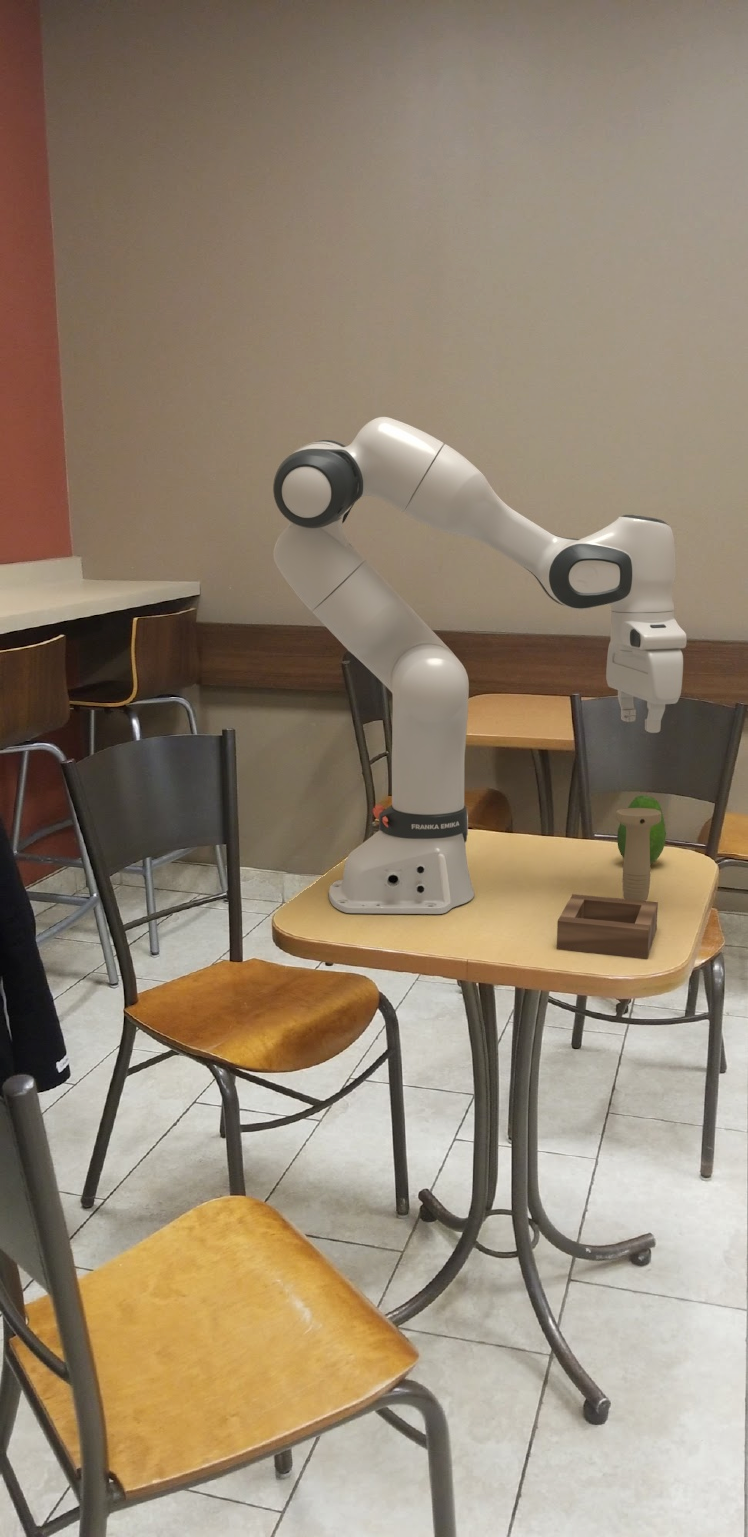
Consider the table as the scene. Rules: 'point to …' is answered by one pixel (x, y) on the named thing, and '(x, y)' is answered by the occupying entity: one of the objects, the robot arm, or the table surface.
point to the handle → (637, 850)
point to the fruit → (655, 831)
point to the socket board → (607, 926)
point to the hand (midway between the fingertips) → (640, 726)
